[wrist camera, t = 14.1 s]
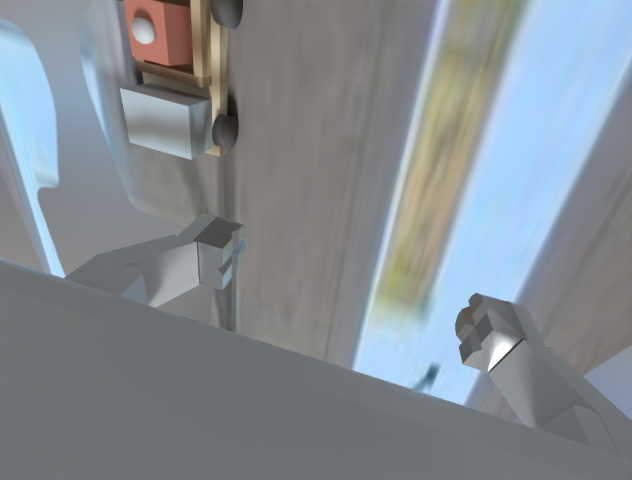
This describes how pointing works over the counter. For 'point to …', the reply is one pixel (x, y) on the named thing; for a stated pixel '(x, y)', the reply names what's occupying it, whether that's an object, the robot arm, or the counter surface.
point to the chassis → (188, 90)
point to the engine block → (160, 31)
